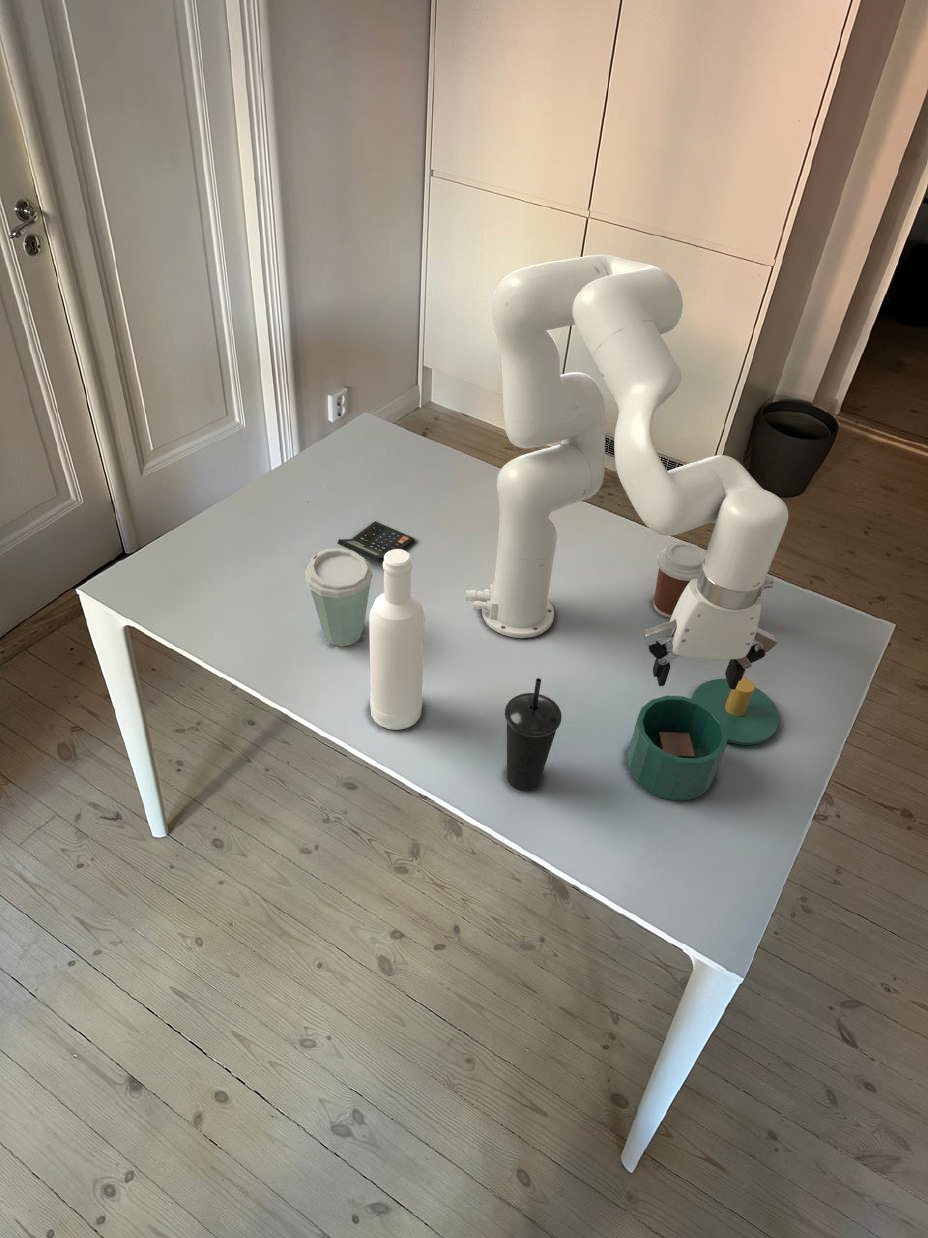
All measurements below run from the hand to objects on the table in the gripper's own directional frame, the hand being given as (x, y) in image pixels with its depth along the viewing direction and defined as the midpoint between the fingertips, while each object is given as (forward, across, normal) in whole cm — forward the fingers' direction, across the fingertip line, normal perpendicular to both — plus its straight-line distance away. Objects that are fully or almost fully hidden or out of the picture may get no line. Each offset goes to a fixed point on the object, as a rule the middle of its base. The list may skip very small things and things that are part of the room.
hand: (694, 680), depth 119 cm
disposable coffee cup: (+19, +50, -25) cm, 60 cm away
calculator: (+19, +46, -50) cm, 71 cm away
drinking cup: (+18, +22, +4) cm, 28 cm away
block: (+17, 0, +1) cm, 17 cm away
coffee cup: (+18, -8, -36) cm, 41 cm away
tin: (+18, 0, +1) cm, 18 cm away
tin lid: (+17, -13, -10) cm, 23 cm away
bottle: (+18, +40, -8) cm, 45 cm away
